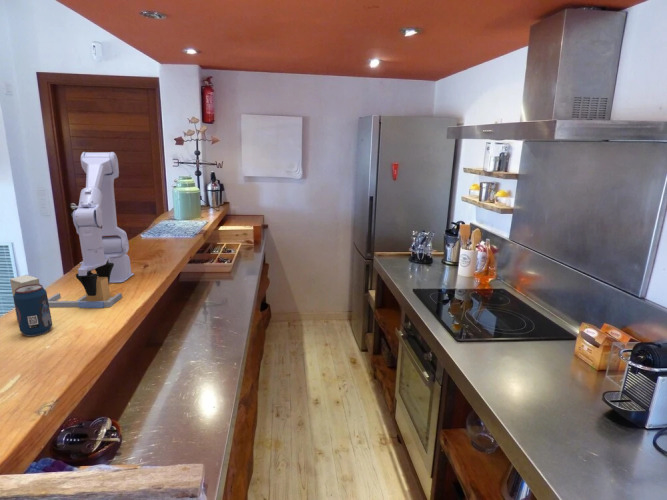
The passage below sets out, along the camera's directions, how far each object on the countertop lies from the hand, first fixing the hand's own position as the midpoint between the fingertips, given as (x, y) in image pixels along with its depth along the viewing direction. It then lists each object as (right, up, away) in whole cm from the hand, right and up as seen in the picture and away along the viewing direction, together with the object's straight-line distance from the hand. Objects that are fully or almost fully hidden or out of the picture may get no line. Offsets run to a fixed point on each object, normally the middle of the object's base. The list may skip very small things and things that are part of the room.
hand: (98, 290), depth 127 cm
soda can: (-5, -9, -19) cm, 22 cm away
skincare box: (-11, -7, -12) cm, 18 cm away
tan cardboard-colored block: (0, -3, +1) cm, 3 cm away
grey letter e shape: (-5, -3, 0) cm, 6 cm away
